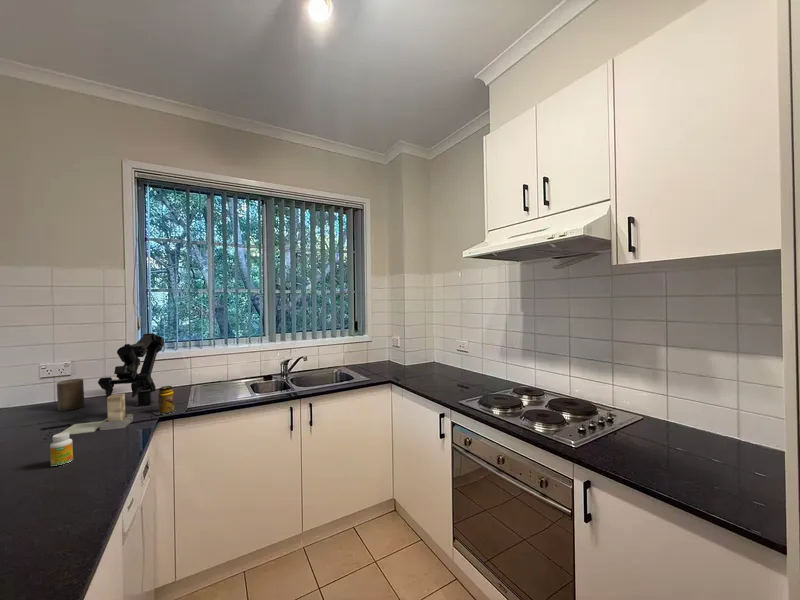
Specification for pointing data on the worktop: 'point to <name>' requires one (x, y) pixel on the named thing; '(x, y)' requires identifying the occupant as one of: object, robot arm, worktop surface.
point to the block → (116, 407)
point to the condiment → (166, 399)
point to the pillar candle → (70, 394)
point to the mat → (83, 428)
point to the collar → (116, 423)
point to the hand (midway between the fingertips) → (120, 398)
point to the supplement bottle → (61, 449)
